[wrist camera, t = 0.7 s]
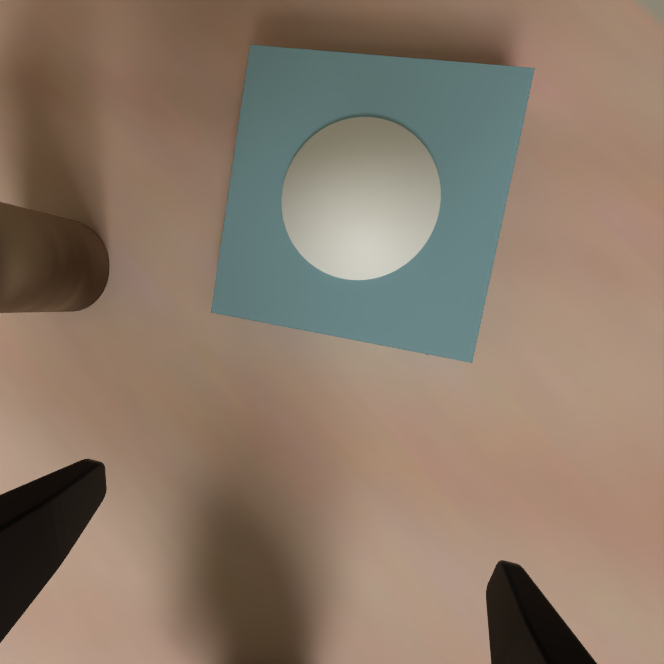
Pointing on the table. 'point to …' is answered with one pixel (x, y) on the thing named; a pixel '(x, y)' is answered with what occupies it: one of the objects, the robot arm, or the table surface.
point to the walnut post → (48, 262)
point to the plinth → (369, 195)
